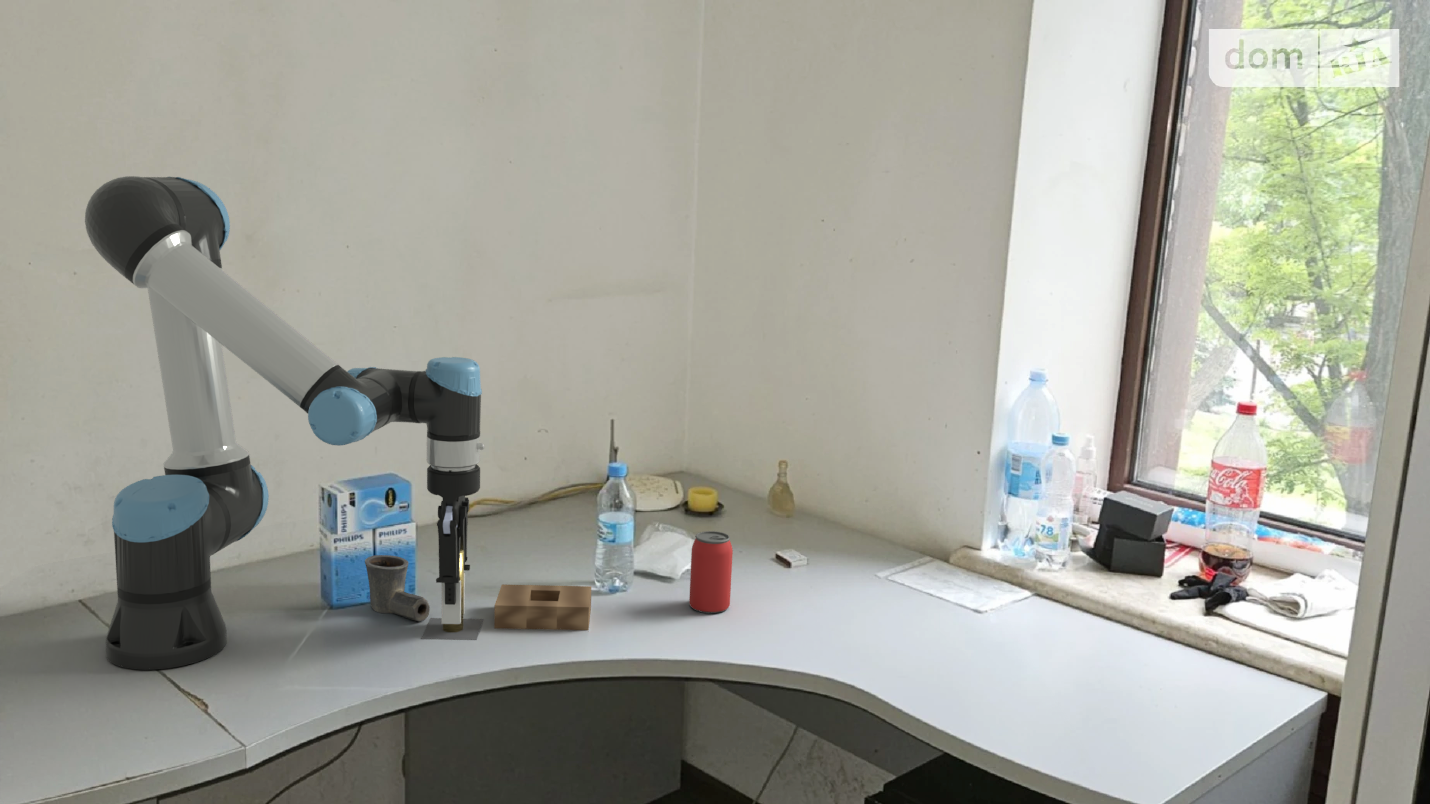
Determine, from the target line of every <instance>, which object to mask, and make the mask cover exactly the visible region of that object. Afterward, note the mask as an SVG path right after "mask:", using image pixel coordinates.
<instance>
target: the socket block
mask: <svg viewBox="0 0 1430 804" xmlns="http://www.w3.org/2000/svg"><path fill="white" fill-rule="evenodd" d="M499 588H500V589H499V591H498V594H497V596H496V597H497V598H496V600H495V603H494V614H493V615H494V617H493V619H494V620H493V621H494V625H493V626H494V627H493V628H494V629H506V630H507V629H508V630H510V629H511V630H512V629H513V630H552V631H554V630H555V631H556V630H558V631H559V630H561V631H565V630H566V631H589V628H590V621H591V610H592V586H591V585H590V586H589V585H588V586H587V585H582V586H581V585H579V586H578V585H547V584H546V585H544V584H543V585H541V584H539V585H538V584H535V585H534V584H501V586H500V587H499Z"/></svg>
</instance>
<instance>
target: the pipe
mask: <svg viewBox="0 0 1430 804" xmlns="http://www.w3.org/2000/svg"><path fill="white" fill-rule="evenodd" d="M364 565H365V568H366V573H367V579H368V585H369V586H368V587H369V599H370V604H369V605H370V607H371V609H372V610H373V611H375V612H376V613H379V614H395V615H396V616H399V617H403V618H404V619H409V620H412V621H414V622H415V621H416V622H424V621H425V620H426V619H427V618H428V616H429V615H430V609H431V608H430V605H429V602H428V600H427V599H426V598H424V597H423V596H420V595H417V594H413V593H409V592H406V591H405V588H406V578H407V573H408V568H409V567H408V566H409V561H408V560H407V559H405V558H403V557H400V556H397V555H390V554H389V555H388V554H387V555H386V554H383V555H382V554H376V555H371V556H368V557H367V558H365V560H364Z"/></svg>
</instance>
